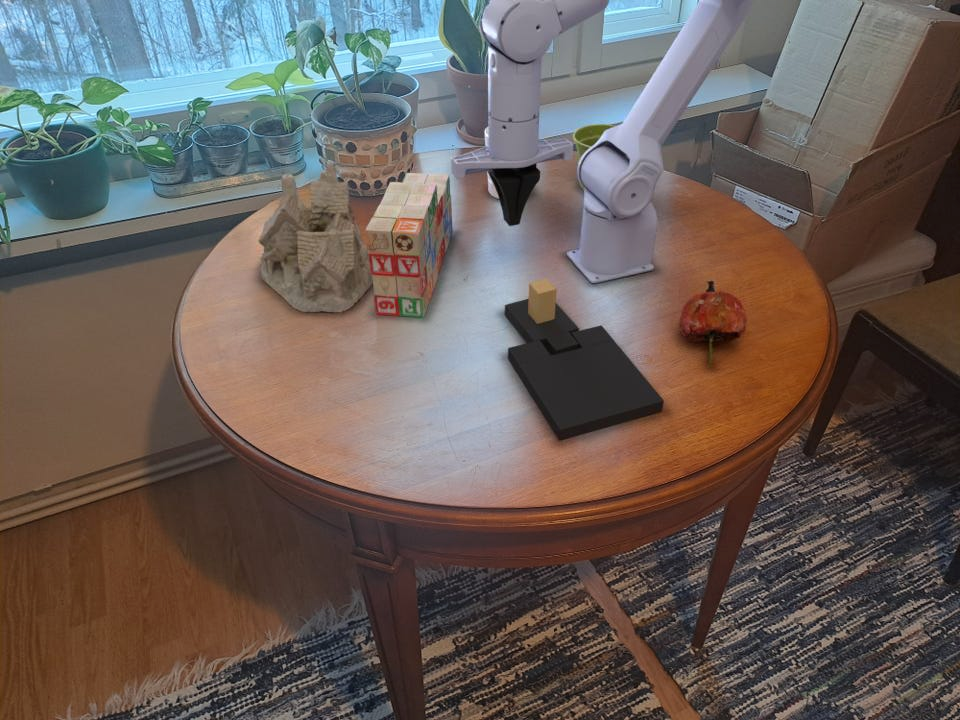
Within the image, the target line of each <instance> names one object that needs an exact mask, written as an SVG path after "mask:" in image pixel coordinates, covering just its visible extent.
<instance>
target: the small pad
mask: <svg viewBox="0 0 960 720" xmlns="http://www.w3.org/2000/svg"><path fill="white" fill-rule="evenodd" d="M557 292H558V289H557V287H556V286H555V285H554V284H553V283H552V282H551V281H550V280H549V279H548V278H544V279H541V280H537V281H532V282H530V283H528V298H526V299H525V298H524V299H522V300H518V301H514V302H511V303H507V304H504V316H505V317H506V319H507V320H508V321H509V322H510V324H511V325H512V326H513V327H514V329H515V330H516V331H517V333H518V334H519V335H520V336H521V338H522V339H523V340H524V342H525V343H530V342H535V341H539V340H540V341H541V343H542V344H543V345H544V347H545V348H546V350H547V351H548V353H549V354H550V356H552V355H556V354H560V353H564V352H568V351H572V350H576V349H578V346H579V343H578V342H577V341H576V340H575V339H574V338H573V337H572V335H571V333H572V332H576V331H580V327H579V326H578V325H577V324H576V322H574V321H573V320H572V318H571V317H570V316H568V314H567V313H566V312H565V310H563V308H561V306H560V305H559V304H558V303H557Z"/></svg>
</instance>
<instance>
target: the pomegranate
mask: <svg viewBox="0 0 960 720" xmlns="http://www.w3.org/2000/svg"><path fill="white" fill-rule="evenodd" d="M706 283H707V284H708V288H707V289H706V290H705V291H702V292H699V293H696V294H694V295H692V296H691V297H690V298H689V299H688V300H686V302H685V304H684V305H683V307H682V309H681V314H680V317H679V323H678V325H679V328H680V331H681V334H682V335H683V337H684V338H685V339H686V340H687V341H688V342H691V343H698V342H705V341H709V343H708V348H709V366H711V364H712V356H713V352H714V349H713V343H729V342H731V341H733V340H736V339H740V338H741V337H743V335H744V334H745V332H746V331H747V326H748V316H747V311H746V308H745V307H744V305H743V303H742V302H741V300H739V298H738V297H736V296H735V295H733V294H731V293H729V292H725V291H723V290H715V286H714V285H715V282H714V280H710V281H706Z"/></svg>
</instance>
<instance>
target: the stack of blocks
mask: <svg viewBox="0 0 960 720" xmlns="http://www.w3.org/2000/svg"><path fill="white" fill-rule="evenodd" d="M450 180H451V179H450V174H445V173H444V174H441V173H420V172H415V173H414V172H406V174H405V176H404V178H403V181H402V182H399V181H397V182H396V181H390V182H389V184H388V186H387V188H386V190H385V192H384V195H383V197H382V199H381V201H380V204H378V207H377V208H376V209H375V212H374V213H373V216H372V217H371V219H370V221H369V222H368V224H367V226H366V227H365V234H366V235H365V236H366V243H367V249H368V251H369V263H370V269H371V274H372V289H373V299H374V307H375V309H374V310H375V315H378V316H379V315H381V316H392V317H406V318H418V319H424V318H425V315H426V312H427V309H428V306H429V304H430V303H431V299H432V296H433V294H434V290H435V288H436V285H437V282H438V280H439V277H438V276H439V273H440V271H441V269H442V268H441V267H442V263H443V261H444V258H445V254H447V250H448V248H449V245H450V241H451V239H452V235H453V232H454V231H453V209H452V195H451V181H450Z"/></svg>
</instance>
